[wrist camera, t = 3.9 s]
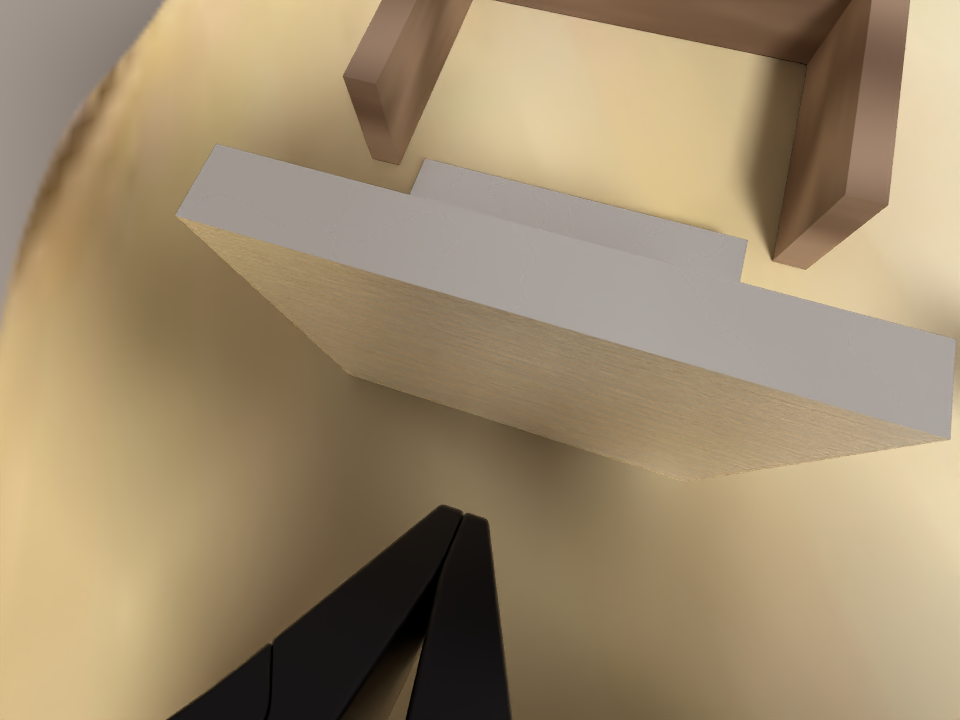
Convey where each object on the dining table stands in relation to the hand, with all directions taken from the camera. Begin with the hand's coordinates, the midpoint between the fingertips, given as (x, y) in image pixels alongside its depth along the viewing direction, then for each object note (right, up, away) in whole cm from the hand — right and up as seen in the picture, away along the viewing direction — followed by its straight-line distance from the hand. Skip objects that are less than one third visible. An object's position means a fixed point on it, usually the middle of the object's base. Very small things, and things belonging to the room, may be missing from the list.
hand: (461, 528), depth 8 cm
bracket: (+3, +4, +10) cm, 11 cm away
